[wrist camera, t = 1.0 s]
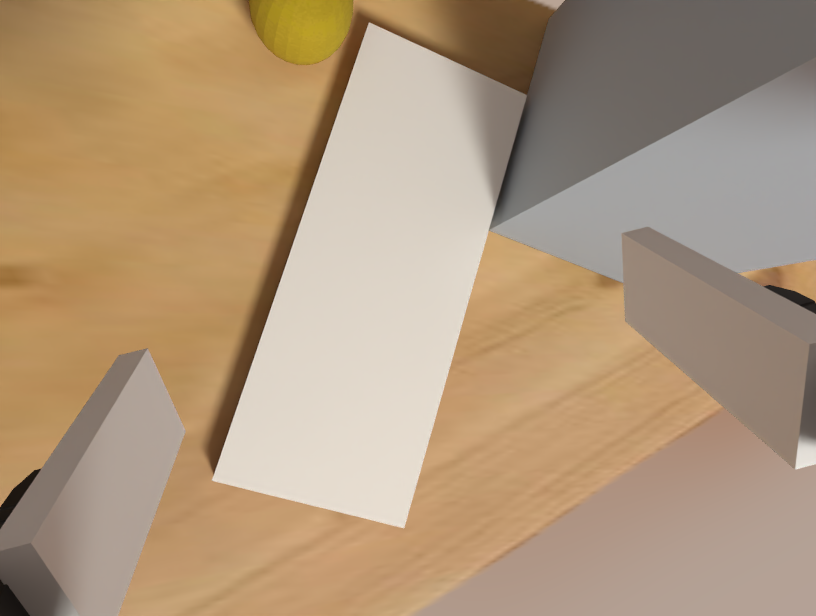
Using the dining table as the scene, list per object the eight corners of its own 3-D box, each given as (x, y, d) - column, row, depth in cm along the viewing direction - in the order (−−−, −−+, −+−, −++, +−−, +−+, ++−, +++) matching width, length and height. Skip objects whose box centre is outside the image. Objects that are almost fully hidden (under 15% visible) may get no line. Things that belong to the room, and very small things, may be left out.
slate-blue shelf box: (640, 289, 40) (1659, 115, 11) (488, 230, 37) (1317, -209, 8) (687, 88, 42) (1614, -481, 14) (548, 18, 40) (1342, -880, 11)
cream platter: (397, 520, 34) (404, 528, 32) (213, 474, 31) (211, 480, 30) (516, 104, 38) (527, 95, 37) (364, 35, 36) (368, 22, 34)
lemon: (327, -5, 35) (348, -104, 28) (351, 80, 35) (379, 4, 28) (237, 5, 34) (234, -97, 26) (263, 94, 34) (266, 18, 26)
